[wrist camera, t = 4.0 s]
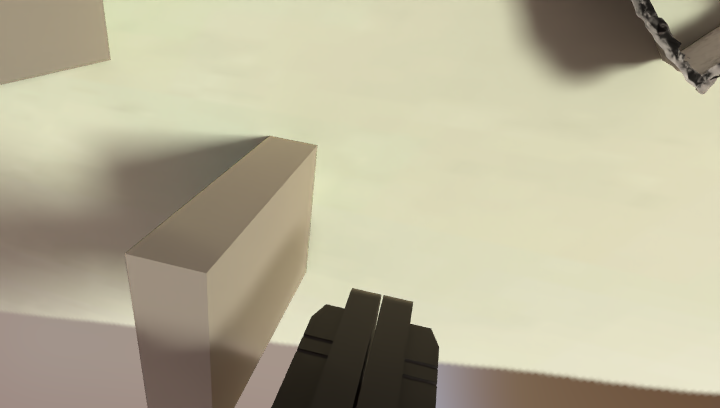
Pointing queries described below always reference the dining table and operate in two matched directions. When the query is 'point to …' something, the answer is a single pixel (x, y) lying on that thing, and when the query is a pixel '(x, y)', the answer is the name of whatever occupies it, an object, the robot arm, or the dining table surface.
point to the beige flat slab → (50, 37)
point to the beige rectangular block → (222, 277)
